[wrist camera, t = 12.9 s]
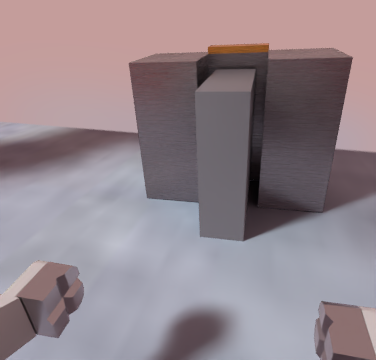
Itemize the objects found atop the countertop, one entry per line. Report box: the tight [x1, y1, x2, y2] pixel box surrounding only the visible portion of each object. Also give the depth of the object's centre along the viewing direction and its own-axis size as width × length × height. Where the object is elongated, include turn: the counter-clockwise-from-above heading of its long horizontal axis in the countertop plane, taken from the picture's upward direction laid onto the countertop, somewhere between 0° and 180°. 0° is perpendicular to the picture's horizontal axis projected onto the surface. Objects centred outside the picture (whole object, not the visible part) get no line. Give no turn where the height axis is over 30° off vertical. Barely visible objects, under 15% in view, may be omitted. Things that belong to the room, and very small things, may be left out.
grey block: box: [195, 69, 256, 241], centre depth 22 cm, size 3×8×10 cm, turn 167°
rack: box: [129, 43, 353, 212], centre depth 24 cm, size 14×6×12 cm, turn 77°
